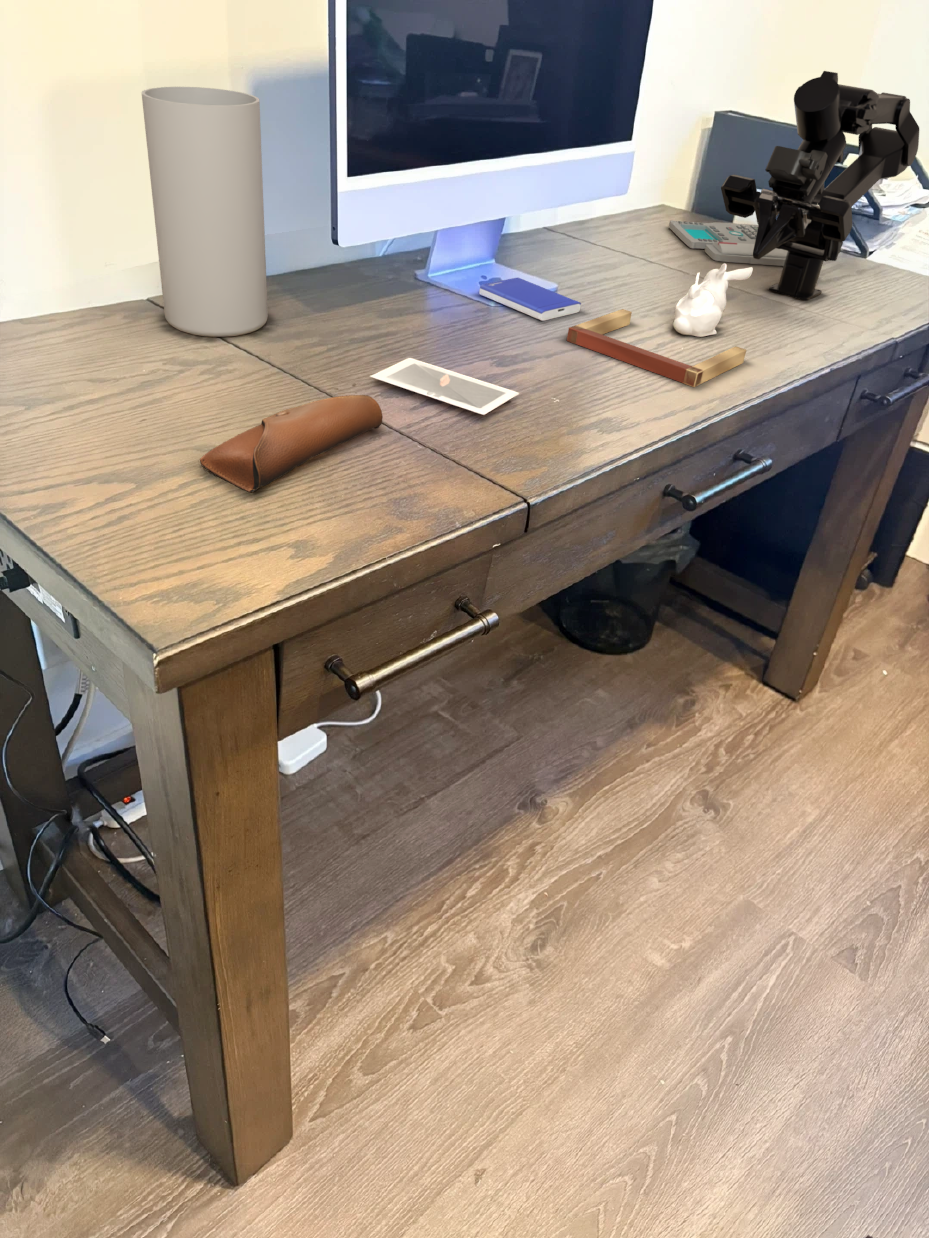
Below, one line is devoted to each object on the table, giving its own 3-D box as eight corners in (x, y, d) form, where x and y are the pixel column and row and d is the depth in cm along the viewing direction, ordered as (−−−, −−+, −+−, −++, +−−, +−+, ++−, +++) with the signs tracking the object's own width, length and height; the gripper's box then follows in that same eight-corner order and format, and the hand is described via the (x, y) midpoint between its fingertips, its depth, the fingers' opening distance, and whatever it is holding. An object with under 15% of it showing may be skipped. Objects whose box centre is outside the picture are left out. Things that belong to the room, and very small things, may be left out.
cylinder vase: (288, 327, 117) (282, 104, 103) (201, 346, 110) (182, 108, 95) (231, 299, 124) (217, 85, 109) (146, 315, 116) (119, 88, 102)
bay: (620, 321, 130) (622, 308, 129) (743, 363, 121) (746, 349, 120) (566, 341, 122) (568, 327, 121) (694, 387, 113) (697, 373, 112)
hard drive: (479, 284, 133) (542, 310, 127) (519, 276, 138) (581, 301, 131) (478, 295, 134) (540, 322, 128) (518, 287, 139) (579, 312, 132)
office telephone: (816, 253, 162) (706, 246, 159) (811, 269, 163) (703, 262, 160) (767, 218, 180) (668, 211, 177) (763, 232, 182) (665, 225, 179)
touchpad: (409, 366, 110) (409, 348, 109) (518, 402, 105) (520, 383, 103) (369, 385, 105) (369, 367, 103) (482, 424, 99) (484, 405, 98)
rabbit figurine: (705, 315, 136) (721, 247, 130) (750, 331, 132) (769, 261, 126) (657, 330, 129) (672, 258, 123) (703, 347, 125) (721, 274, 119)
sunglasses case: (319, 404, 98) (345, 360, 93) (363, 452, 98) (392, 411, 93) (191, 462, 86) (214, 415, 81) (242, 518, 85) (268, 474, 81)
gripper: (744, 111, 130) (687, 204, 130) (873, 136, 121) (812, 236, 121) (754, 167, 140) (701, 254, 140) (874, 194, 131) (818, 287, 130)
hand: (755, 257), depth 132 cm, fingers closed
